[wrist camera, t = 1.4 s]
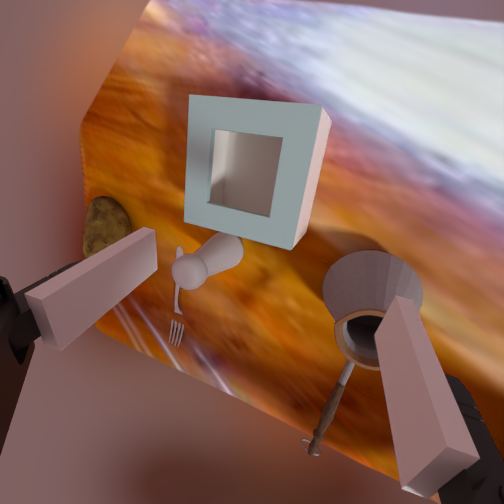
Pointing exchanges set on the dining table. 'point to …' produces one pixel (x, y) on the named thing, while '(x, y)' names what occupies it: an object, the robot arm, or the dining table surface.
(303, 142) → the drop box
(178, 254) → the fork
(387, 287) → the coffee pot
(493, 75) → the dining table surface
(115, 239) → the potato
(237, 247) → the salt shaker
